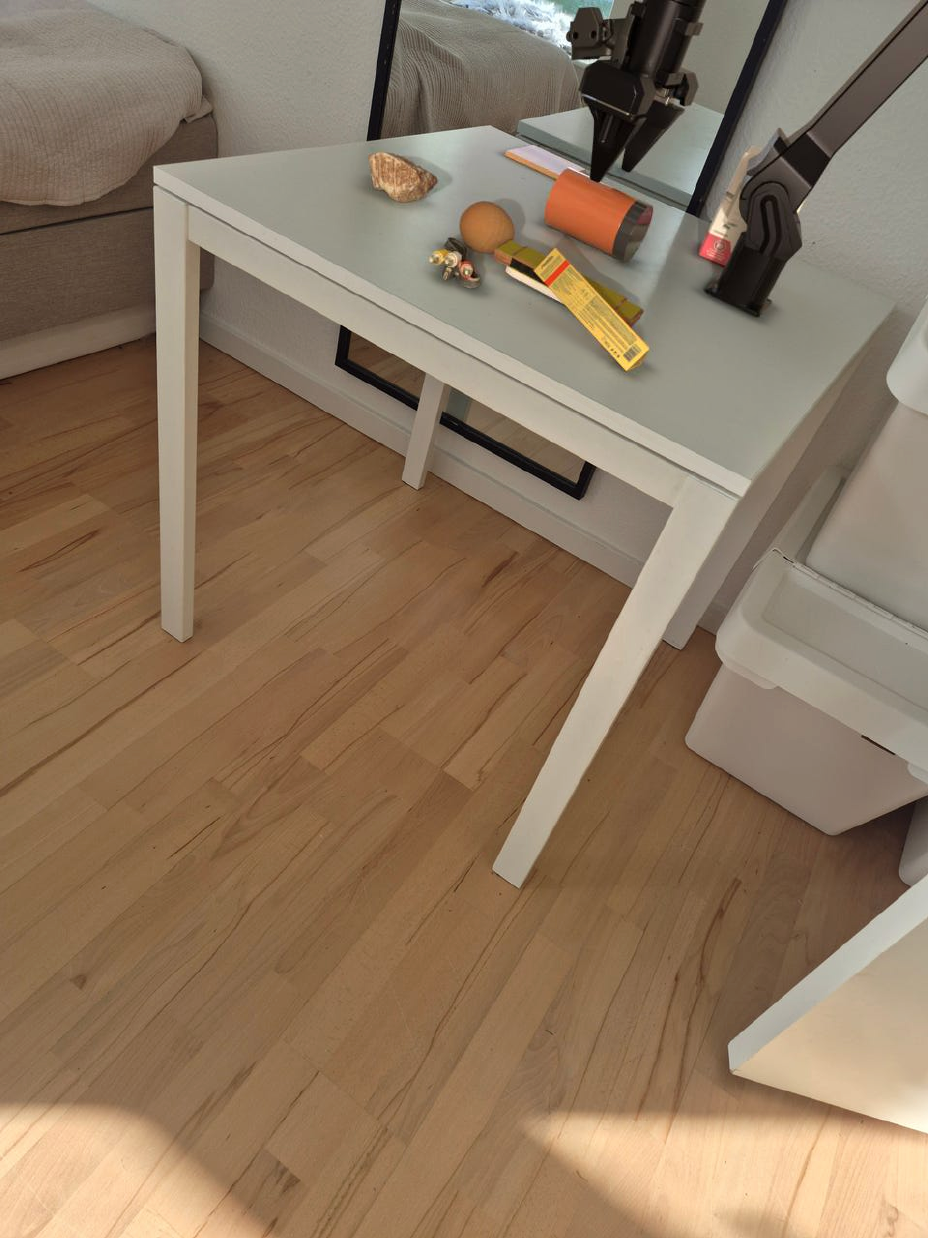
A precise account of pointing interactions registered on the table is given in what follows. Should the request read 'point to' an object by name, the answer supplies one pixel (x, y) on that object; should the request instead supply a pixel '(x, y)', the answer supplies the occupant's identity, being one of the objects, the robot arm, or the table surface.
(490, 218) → the egg
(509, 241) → the olive brown bar
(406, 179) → the stone
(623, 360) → the chocolate bar
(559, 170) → the coaster
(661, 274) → the table surface
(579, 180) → the jar
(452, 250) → the composite cable
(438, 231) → the table surface
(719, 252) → the ink box
